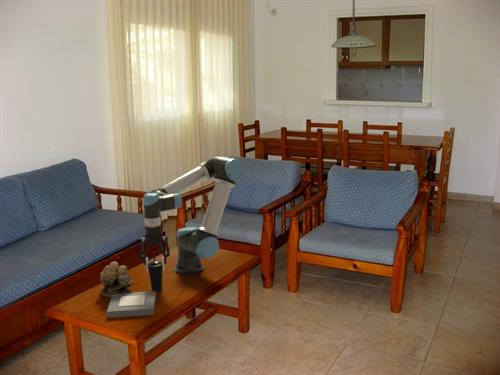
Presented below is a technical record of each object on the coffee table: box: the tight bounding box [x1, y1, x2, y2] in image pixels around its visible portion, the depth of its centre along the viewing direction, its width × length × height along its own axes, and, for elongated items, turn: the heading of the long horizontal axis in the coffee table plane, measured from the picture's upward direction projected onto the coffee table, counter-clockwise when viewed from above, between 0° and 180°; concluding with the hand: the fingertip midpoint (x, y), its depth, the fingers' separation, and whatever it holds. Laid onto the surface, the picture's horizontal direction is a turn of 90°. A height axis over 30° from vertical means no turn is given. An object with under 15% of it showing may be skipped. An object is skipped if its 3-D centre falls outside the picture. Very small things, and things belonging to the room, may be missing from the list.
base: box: [106, 291, 157, 319], centre depth 251 cm, size 20×20×3 cm
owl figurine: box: [99, 261, 134, 300], centre depth 266 cm, size 18×12×17 cm, turn 71°
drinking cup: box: [148, 250, 163, 293], centre depth 269 cm, size 8×8×20 cm
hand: (155, 270), depth 269 cm, fingers closed on drinking cup, 7 cm apart
